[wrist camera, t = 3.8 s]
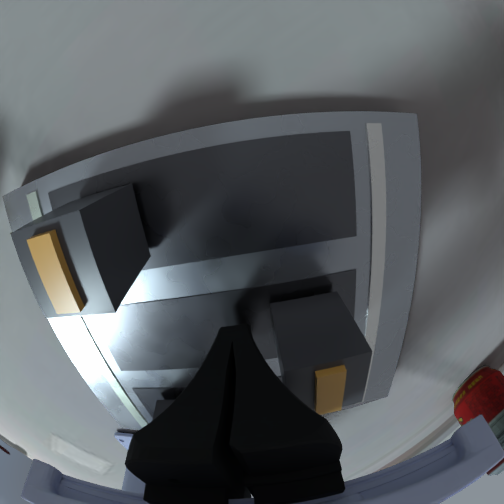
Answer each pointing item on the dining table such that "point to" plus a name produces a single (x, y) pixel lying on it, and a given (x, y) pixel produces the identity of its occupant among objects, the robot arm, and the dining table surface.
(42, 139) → the dining table surface
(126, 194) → the breaker
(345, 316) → the breaker
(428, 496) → the robot arm
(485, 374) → the soda can
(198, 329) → the panel
